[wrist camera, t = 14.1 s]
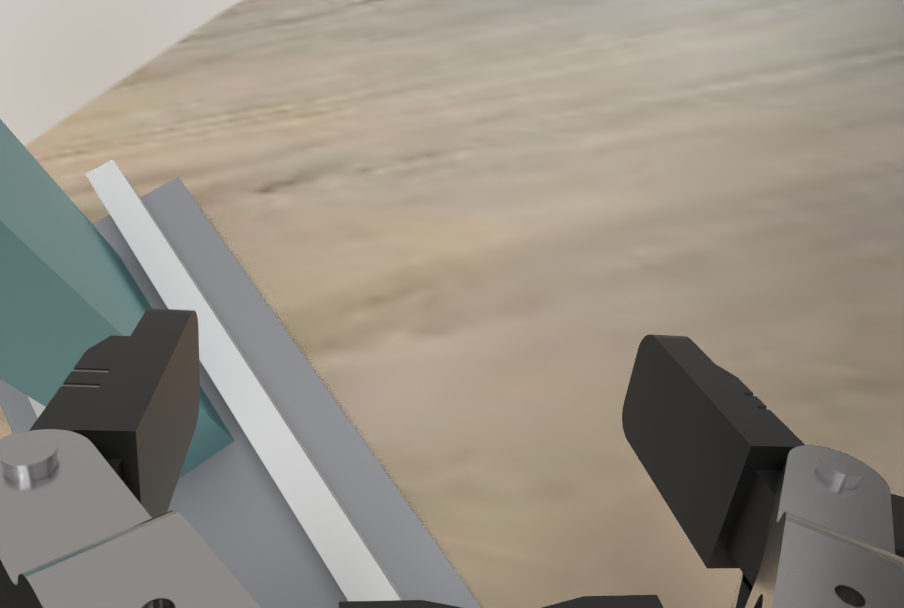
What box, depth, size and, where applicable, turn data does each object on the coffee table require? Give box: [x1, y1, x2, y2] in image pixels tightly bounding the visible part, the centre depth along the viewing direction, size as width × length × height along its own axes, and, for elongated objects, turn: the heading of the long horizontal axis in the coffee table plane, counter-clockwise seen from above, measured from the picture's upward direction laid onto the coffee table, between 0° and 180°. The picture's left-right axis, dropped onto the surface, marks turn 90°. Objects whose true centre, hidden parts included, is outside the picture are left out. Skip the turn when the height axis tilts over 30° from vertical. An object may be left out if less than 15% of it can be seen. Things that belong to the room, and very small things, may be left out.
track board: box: [0, 160, 481, 608], centre depth 24 cm, size 10×24×4 cm, turn 37°
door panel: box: [0, 119, 235, 478], centre depth 20 cm, size 4×10×14 cm, turn 37°
